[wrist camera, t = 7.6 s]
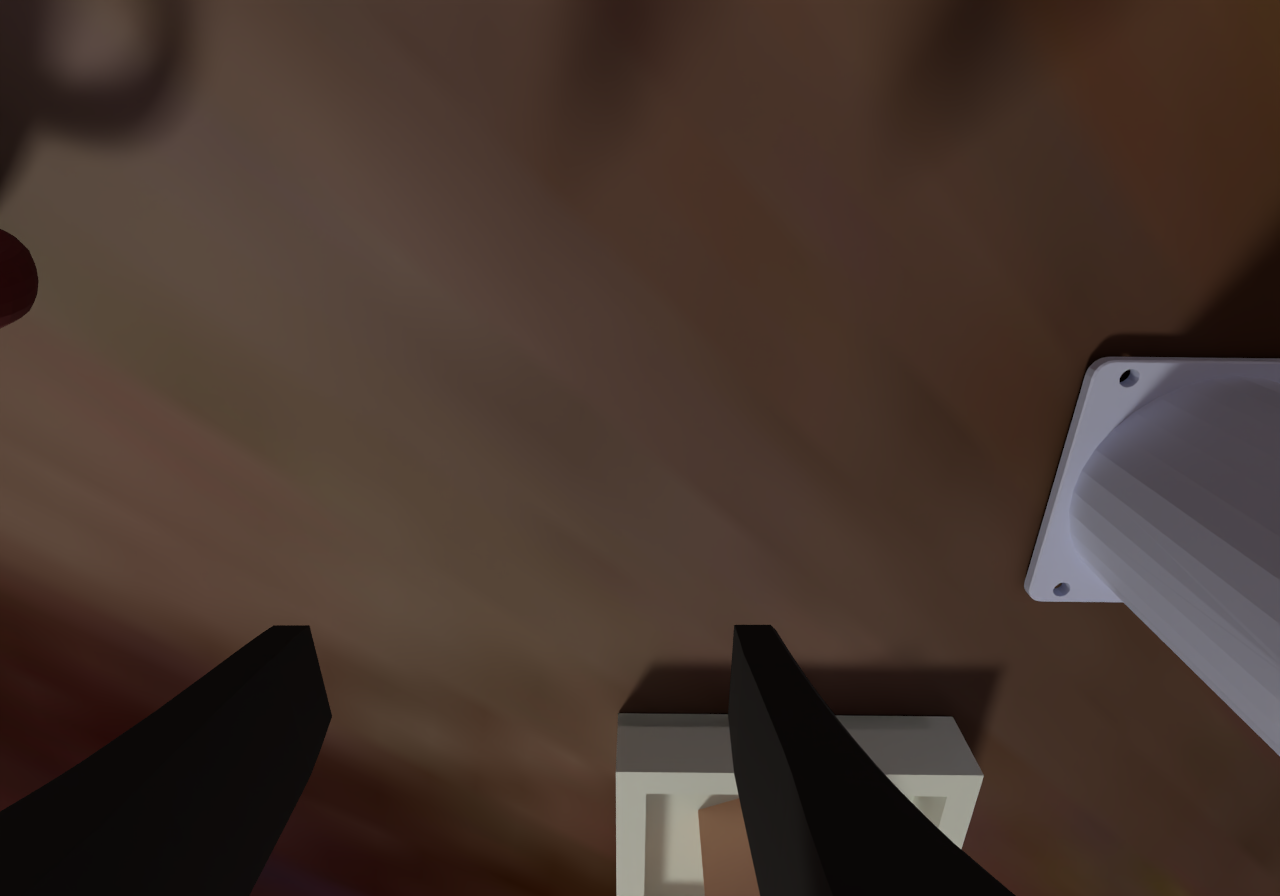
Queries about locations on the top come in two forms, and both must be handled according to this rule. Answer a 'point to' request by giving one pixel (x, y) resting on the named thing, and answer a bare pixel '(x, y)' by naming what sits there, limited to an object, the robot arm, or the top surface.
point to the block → (726, 851)
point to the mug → (15, 279)
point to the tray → (704, 776)
